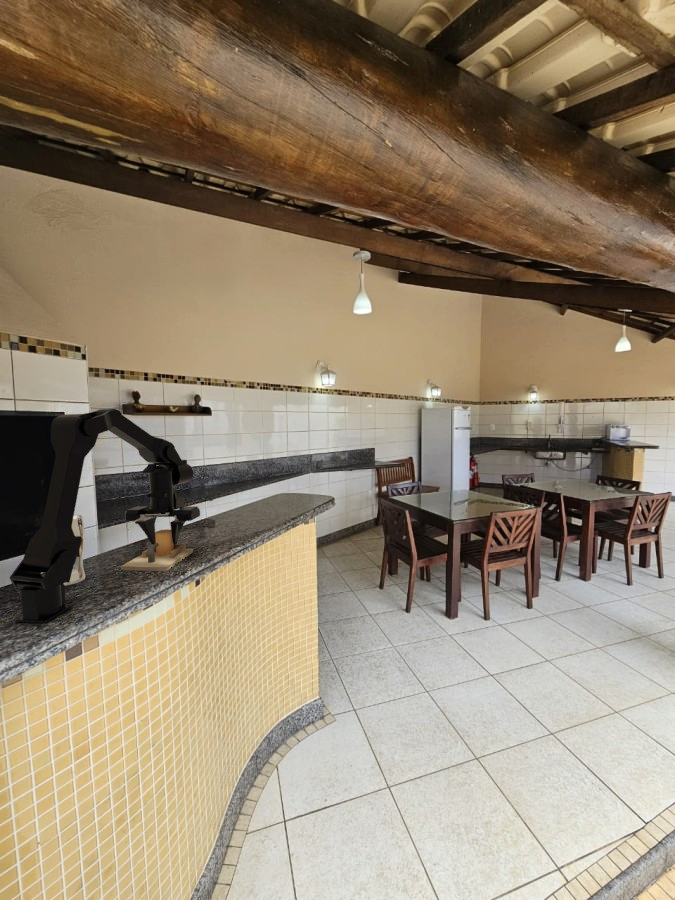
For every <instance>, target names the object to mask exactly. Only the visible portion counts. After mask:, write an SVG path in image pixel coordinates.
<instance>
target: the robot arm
mask: <svg viewBox="0 0 675 900" xmlns="http://www.w3.org/2000/svg"><path fill="white" fill-rule="evenodd" d="M105 432H110V433H112V434H113V435H115V436H117V437H118V438H120V439H122V440H123V441H124V442H126V443H128V444H129V445H131V446H132V447H133V448H135V449H136V450H137V451H138V455H139V456H140V457H141V458H142V459H143V460H144V461H146V462H147V463H148V464H147V466H146V467H145V468H144V469H143V470H142V473H143V474H148V475H149V476H148V480H149V492H148V493H147V498H149V499H150V507H149V506H143V505H142V506H140V505H139V506H138V505H137V506H135V507H132V508H128V509H126V511H125V512H124V521H126V522H127V521H129V522H130V521H131V522H134V524H135V525H138V526H139V527H140V528H141V530H142V531H143V533H144V534H145V536H146V537H147V539H148V541H149V542H150V544H151V545H153V544H155V543H156V539H155V532H156V525H155V524H156V520H157V518H159V517H160V518H162V517H163V518H164V517H165V518H173V519H174V520H172V521H170V522H169V523H170V524H169V525H170V530H171V533H172V540H173V544H174V545H176V544H178V541H179V538H180V536H181V532H182V529H183V527H184V525H185V523H186V522H191V521H193V520H195V519H197V518H200V517H201V510H200V508H199V506H197V505H196V506H193V505H192V506H191V505H190V506H187V505H186V506H185V505H184V504H185V497H183V496H182V495H177V491H176V489H174V486H176V485H180V484H184V483H185V484H186V483H188V482H190V481H192V480H193V478H194V470H193V468H192V466H191V465H190V464H188V460H187V459H182V458H181V456H180V454H179V453H178V451H177V450H176V447H175V445H174V444H173V442H171V441H169V440H166V439H164V438H160V437H157V436H154V435H151V434H150V433H148V431H146V430H145V429H143V428H141V427H140V426H139V425H137V424H136V423H134V422H133V420H130V419H129V418H127V417H126V416H125V415H124V414H123V413H122V412H121V411H120V410H118V409H116V408H100V409H98V410H95V411H91V412H87V413H86V412H85V413H71V414H69V413H66V414H60V415H58V416H56V417H54V418H53V419H52V422H51V425H50V443H51V445H52V447H53V450H54V453H55V458H54V462H53V467H52V468H53V469H52V474H51V478H50V483H49V488H48V491H47V492H48V493H47V498H46V502H45V503H46V504H45V509H44V513H43V518H42V523H41V525H40V528H38V529H37V531H36V532H35V534H33V536H32V537H31V538H30V539H29V541H28V545H27V547H26V549H25V552H24V554H23V558H22V560H21V561H20V562H19V564H18V565H17V567H16V568H15V569H14V571H13V572H12V573H11V575H10V576H9V580H10V582H11V584H12V585H13V586H14V587H23V588H22V589H20V602H21V611H22V613H21V615H20V616H18V617H16V618H14V621H15V622H16V623H37V624H38V623H41V624H42V623H43V624H44V623H49V622H50V621H51V620H53V619H55V618H56V617H58V616H60V615H61V614H63V613H65V612H66V611H68V610H70V609H71V608H72V604H69V603H68V604H67V603H66V593H65V586H64V584H63V583H66V582H68V581H70V578H71V574H72V570H73V566H74V564H75V562H76V558H77V557H80V554H79V548H80V545H81V542H82V537H81V536H75V535H74V532H73V530H72V522H73V517H74V515H75V509H76V505H77V501H78V500H77V499H78V494H79V489H80V484H81V478H82V474H83V468H84V467H83V466H84V463H85V462H84V461H85V459H86V456H87V455H88V454H89V453H90V452H91V451H92V450H93V448H94V447H95V446H96V443H97V441H98V437H99V435H100V434H103V433H105ZM43 573H45V574H43Z"/></svg>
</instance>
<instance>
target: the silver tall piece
mask: <svg viewBox="0 0 675 900" xmlns="http://www.w3.org/2000/svg"><path fill="white" fill-rule="evenodd" d="M84 524H85V523H84V518H83V515H82V514H74V517H73V522H72V530H73V532H74V535H75V536H81V537H82V542H81V545H80V548H79V554H80V557H77V558H76V562H75V564H74V566H73V570H72V574H71V578H70V581H68V582H66V583H63V584H64V587H65V586H71V585H75V584H78V583H81V582H83V581H85V579H86V573H85V569H84V563H83V560H84V549H85V539H86V534H85V532H86V531H85V525H84Z"/></svg>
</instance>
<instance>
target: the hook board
mask: <svg viewBox="0 0 675 900" xmlns="http://www.w3.org/2000/svg"><path fill="white" fill-rule="evenodd" d="M158 545H159V544H158V543H155V544H153V545H152V544H151V545H148V546H147V547H146V549H145V550H144V551H142V552H141V554H140V555H138V556H137V557H135V558H133V559H131V560H129V561H127V562H126V563H124V564H123V565H121V566H120V570H121V571H143V572H144V571H147V572H149V571H151V572H153V571H154V572H158V571H159V572H160V571H161V572H167V571H169V570H170V569H171V567H172V568H173V567H174V566H176V565H177V564H178V562H179V563H181V561H183V560H184V559H186V558H188V557H189V556H190V555H191V554H193V552H194V549H193V548H187V547H186V546H187V545H186V543H177V544H176V545H174V544H173V547H174V550H172V551H171V552H169V555H166V556H158V555H156V547H157V546H158ZM185 557H186V558H185ZM182 559H183V560H182ZM175 564H176V565H175Z"/></svg>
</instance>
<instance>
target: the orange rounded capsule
mask: <svg viewBox="0 0 675 900" xmlns="http://www.w3.org/2000/svg"><path fill="white" fill-rule="evenodd" d="M155 539H156V543H158V544H159V545H158V546H157V547H156V555H158V556H166V555H169V552H171V551H172V550H174V547H173V540H172V533H171V529H169V528H168V529H167V528H166V529H160V530H157V531H155Z"/></svg>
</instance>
